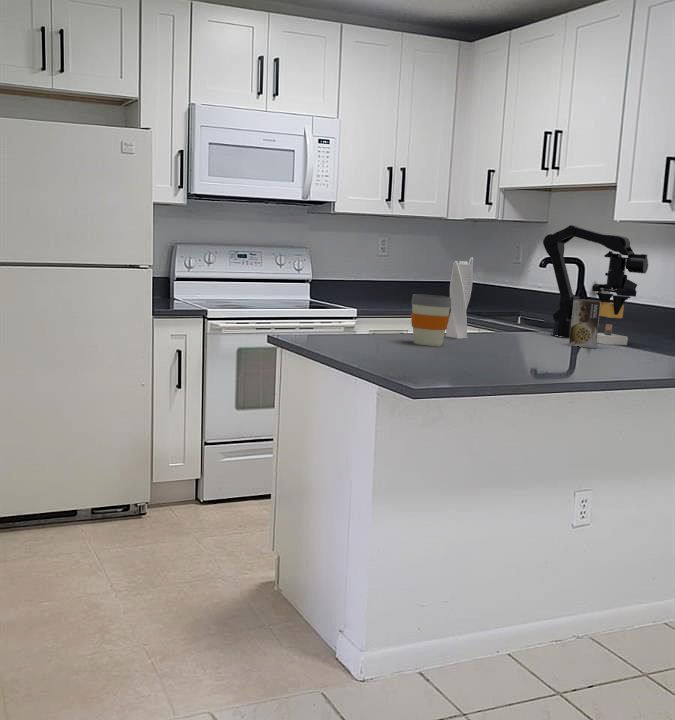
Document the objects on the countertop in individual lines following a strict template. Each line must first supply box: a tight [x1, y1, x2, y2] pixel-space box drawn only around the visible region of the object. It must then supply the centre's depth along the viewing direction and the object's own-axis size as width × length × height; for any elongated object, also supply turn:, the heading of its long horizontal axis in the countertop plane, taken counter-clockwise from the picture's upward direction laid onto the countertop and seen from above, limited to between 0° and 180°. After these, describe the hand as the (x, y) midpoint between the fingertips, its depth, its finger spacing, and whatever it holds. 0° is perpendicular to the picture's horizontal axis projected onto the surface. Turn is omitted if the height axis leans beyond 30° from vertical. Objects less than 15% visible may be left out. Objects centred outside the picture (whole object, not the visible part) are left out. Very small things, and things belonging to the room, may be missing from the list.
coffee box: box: [568, 298, 601, 349], centre depth 295 cm, size 9×6×16 cm
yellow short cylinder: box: [599, 302, 625, 319], centre depth 313 cm, size 6×6×5 cm
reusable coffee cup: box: [410, 293, 451, 347], centre depth 268 cm, size 13×12×15 cm
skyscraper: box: [444, 256, 474, 340], centre depth 292 cm, size 8×8×28 cm
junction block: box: [597, 323, 629, 346], centre depth 314 cm, size 10×10×7 cm
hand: (610, 313), depth 313 cm, fingers closed on yellow short cylinder, 6 cm apart
